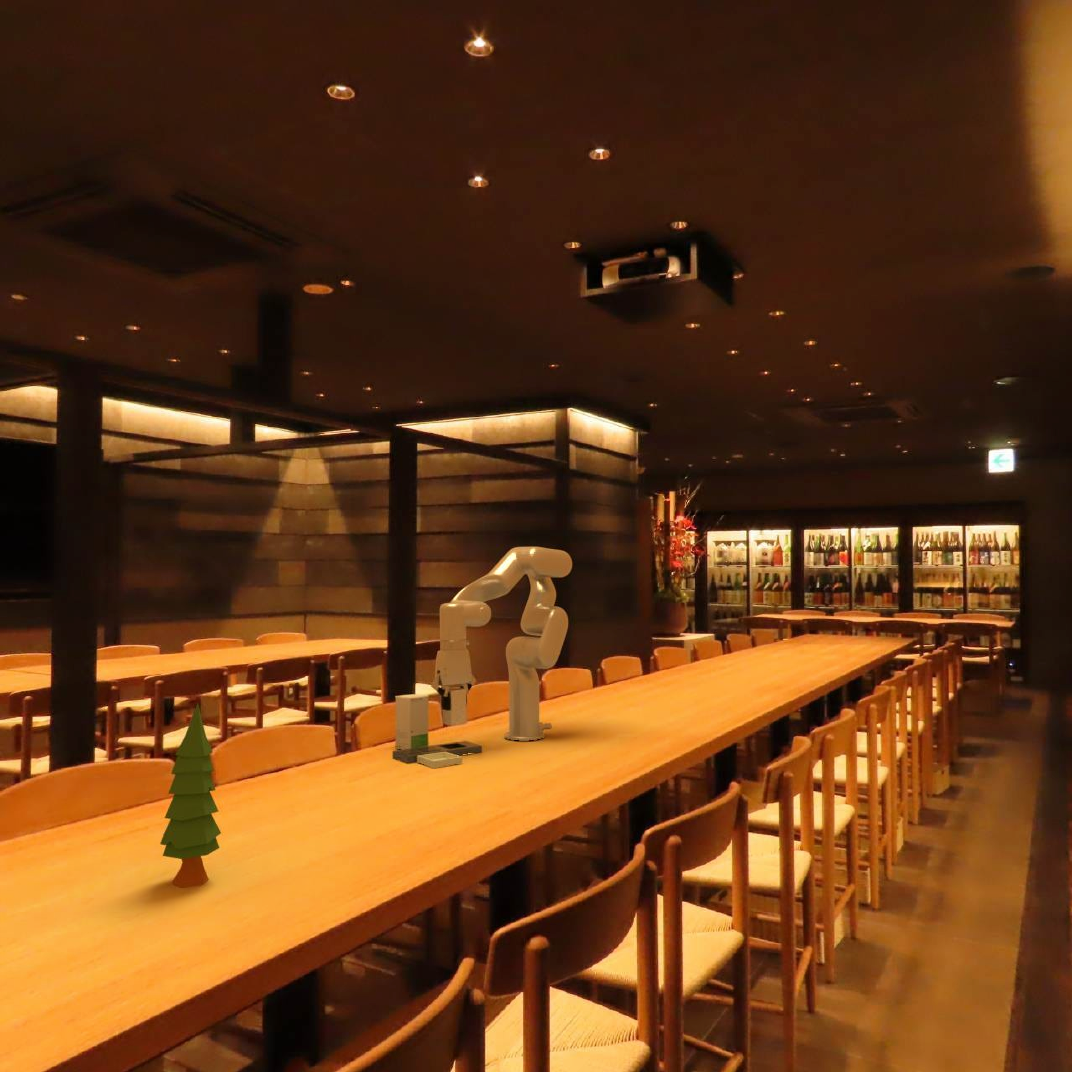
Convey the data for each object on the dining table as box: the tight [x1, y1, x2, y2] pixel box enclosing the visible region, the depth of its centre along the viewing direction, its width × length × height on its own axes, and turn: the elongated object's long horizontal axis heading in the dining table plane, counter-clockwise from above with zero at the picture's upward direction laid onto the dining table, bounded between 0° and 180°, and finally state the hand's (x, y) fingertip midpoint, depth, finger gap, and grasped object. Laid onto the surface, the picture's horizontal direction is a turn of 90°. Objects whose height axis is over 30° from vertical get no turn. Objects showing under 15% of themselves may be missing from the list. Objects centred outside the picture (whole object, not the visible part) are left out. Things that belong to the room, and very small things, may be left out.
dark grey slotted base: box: [392, 740, 483, 764], centre depth 255 cm, size 24×9×2 cm, turn 126°
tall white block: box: [442, 686, 468, 727], centre depth 258 cm, size 5×5×10 cm
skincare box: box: [394, 693, 430, 750], centre depth 265 cm, size 8×7×16 cm
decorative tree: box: [159, 703, 222, 888], centre depth 152 cm, size 10×9×30 cm
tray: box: [416, 752, 463, 769], centre depth 244 cm, size 9×9×2 cm
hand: (454, 708), depth 258 cm, fingers closed on tall white block, 5 cm apart
